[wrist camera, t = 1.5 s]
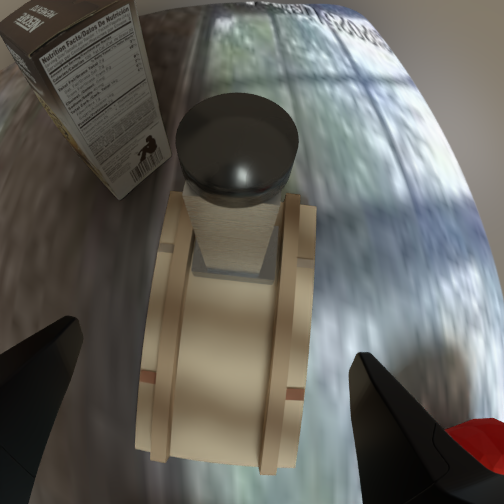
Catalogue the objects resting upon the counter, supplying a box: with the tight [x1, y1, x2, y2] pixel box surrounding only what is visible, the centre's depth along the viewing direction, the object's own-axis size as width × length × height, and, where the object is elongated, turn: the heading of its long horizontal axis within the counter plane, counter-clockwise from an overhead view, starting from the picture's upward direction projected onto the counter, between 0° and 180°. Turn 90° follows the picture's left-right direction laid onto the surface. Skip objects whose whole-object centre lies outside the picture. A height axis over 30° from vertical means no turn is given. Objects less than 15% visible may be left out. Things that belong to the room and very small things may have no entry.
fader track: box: [135, 191, 316, 475], centre depth 20 cm, size 19×11×3 cm, turn 174°
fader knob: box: [176, 93, 299, 285], centre depth 15 cm, size 4×5×13 cm
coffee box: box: [0, 0, 172, 200], centre depth 18 cm, size 9×6×16 cm
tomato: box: [445, 418, 504, 475], centre depth 14 cm, size 11×13×10 cm
